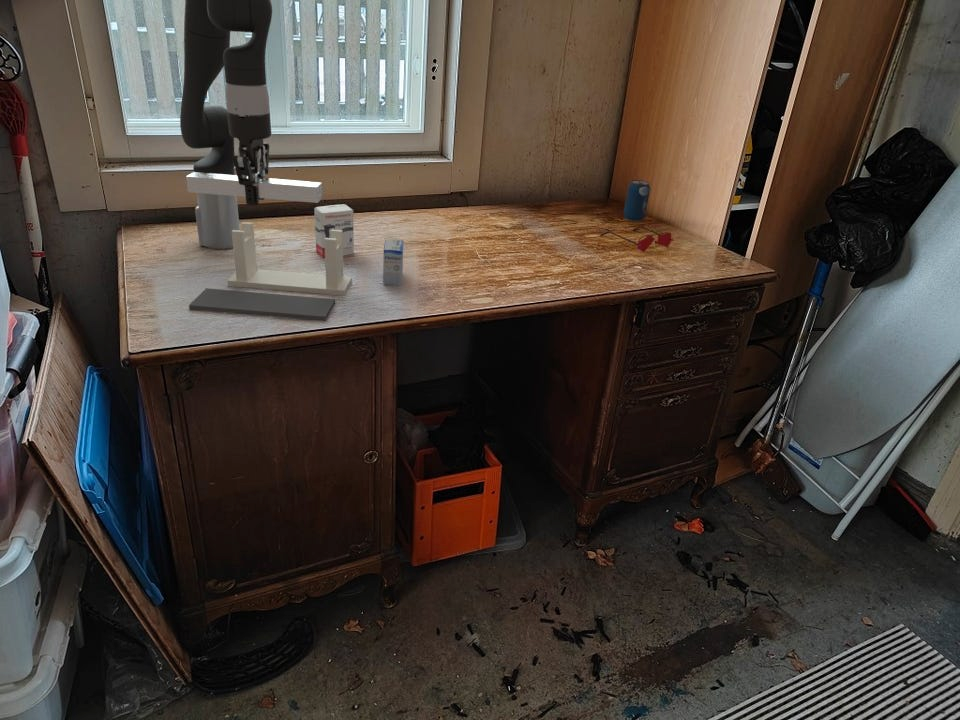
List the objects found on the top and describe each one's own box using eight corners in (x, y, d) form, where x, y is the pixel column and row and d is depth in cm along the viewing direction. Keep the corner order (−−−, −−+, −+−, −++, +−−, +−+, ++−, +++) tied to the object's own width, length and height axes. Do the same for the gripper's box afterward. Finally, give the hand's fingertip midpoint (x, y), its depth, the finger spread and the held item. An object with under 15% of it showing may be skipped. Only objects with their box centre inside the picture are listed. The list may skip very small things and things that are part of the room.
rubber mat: (189, 309, 141) (188, 305, 140) (206, 292, 149) (206, 288, 148) (325, 321, 141) (325, 316, 140) (335, 303, 149) (335, 299, 148)
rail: (188, 192, 132) (186, 176, 131) (195, 187, 135) (193, 171, 134) (317, 202, 132) (317, 187, 131) (322, 197, 135) (321, 182, 134)
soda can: (646, 222, 220) (653, 185, 214) (624, 221, 220) (631, 183, 214) (642, 216, 226) (649, 180, 220) (621, 214, 226) (627, 178, 220)
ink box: (323, 258, 172) (321, 212, 166) (315, 252, 175) (313, 206, 169) (354, 254, 176) (354, 209, 170) (346, 248, 179) (345, 203, 174)
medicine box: (384, 272, 166) (384, 238, 162) (402, 273, 167) (403, 239, 163) (382, 285, 160) (383, 249, 155) (402, 286, 160) (402, 250, 156)
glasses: (638, 254, 193) (641, 237, 191) (599, 236, 205) (601, 220, 203) (672, 248, 200) (676, 232, 198) (632, 231, 212) (635, 215, 210)
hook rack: (228, 285, 153) (222, 231, 147) (240, 272, 160) (235, 220, 154) (344, 295, 153) (343, 241, 147) (351, 282, 160) (351, 230, 154)
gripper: (241, 102, 132) (249, 191, 140) (213, 114, 120) (223, 210, 128) (280, 105, 132) (285, 194, 140) (256, 117, 120) (263, 214, 128)
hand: (256, 201), depth 134 cm, fingers closed on rail, 3 cm apart
